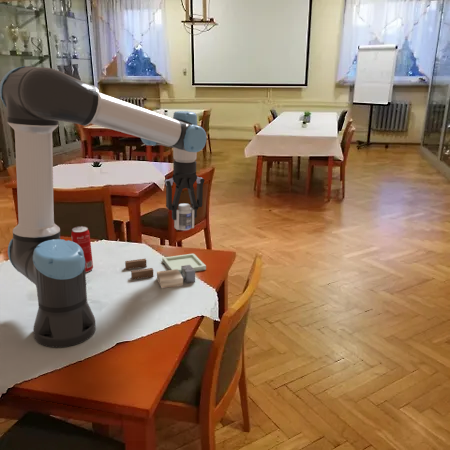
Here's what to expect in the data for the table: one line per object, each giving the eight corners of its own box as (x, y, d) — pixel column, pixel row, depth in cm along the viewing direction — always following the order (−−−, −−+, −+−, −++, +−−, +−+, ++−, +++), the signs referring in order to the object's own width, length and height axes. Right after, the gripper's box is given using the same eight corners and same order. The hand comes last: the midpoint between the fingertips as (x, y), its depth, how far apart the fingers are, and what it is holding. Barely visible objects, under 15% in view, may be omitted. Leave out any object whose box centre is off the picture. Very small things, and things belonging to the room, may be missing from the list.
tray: (206, 269, 157) (206, 265, 157) (173, 274, 152) (173, 270, 152) (193, 257, 167) (193, 253, 167) (162, 261, 163) (162, 257, 162)
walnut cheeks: (153, 276, 151) (153, 269, 150) (132, 279, 148) (132, 272, 147) (145, 265, 159) (145, 258, 158) (125, 267, 156) (125, 261, 155)
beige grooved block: (183, 286, 145) (183, 278, 144) (161, 289, 143) (161, 280, 142) (177, 277, 151) (177, 269, 150) (156, 279, 149) (156, 271, 148)
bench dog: (195, 281, 148) (195, 270, 147) (186, 283, 147) (186, 271, 145) (189, 275, 152) (189, 264, 151) (181, 277, 151) (181, 266, 150)
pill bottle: (188, 231, 153) (189, 207, 150) (175, 229, 154) (175, 206, 151) (192, 226, 157) (193, 203, 155) (179, 225, 158) (179, 202, 155)
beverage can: (95, 266, 156) (93, 225, 151) (88, 274, 150) (85, 232, 145) (79, 265, 157) (76, 224, 152) (71, 273, 150) (67, 230, 146)
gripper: (205, 157, 155) (204, 221, 162) (155, 159, 147) (155, 226, 155) (214, 161, 148) (212, 228, 156) (162, 163, 141) (162, 234, 149)
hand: (184, 227), depth 155 cm, fingers closed on pill bottle, 5 cm apart
